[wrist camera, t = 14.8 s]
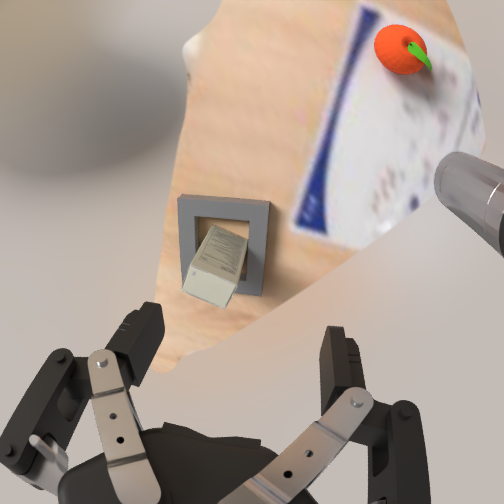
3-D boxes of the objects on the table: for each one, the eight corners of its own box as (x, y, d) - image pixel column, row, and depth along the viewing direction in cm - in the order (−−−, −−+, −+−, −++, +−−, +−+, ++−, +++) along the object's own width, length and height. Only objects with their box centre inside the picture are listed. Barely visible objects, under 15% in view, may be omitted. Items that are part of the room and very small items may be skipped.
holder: (269, 201, 42) (268, 205, 40) (262, 289, 49) (261, 296, 47) (182, 194, 43) (177, 198, 41) (186, 279, 50) (182, 286, 48)
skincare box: (203, 246, 47) (177, 290, 36) (212, 223, 45) (187, 263, 34) (240, 263, 47) (224, 311, 36) (251, 240, 45) (238, 286, 34)
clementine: (428, 58, 29) (451, 52, 22) (405, 91, 32) (426, 89, 25) (383, 21, 27) (400, 8, 21) (359, 54, 31) (372, 44, 24)
